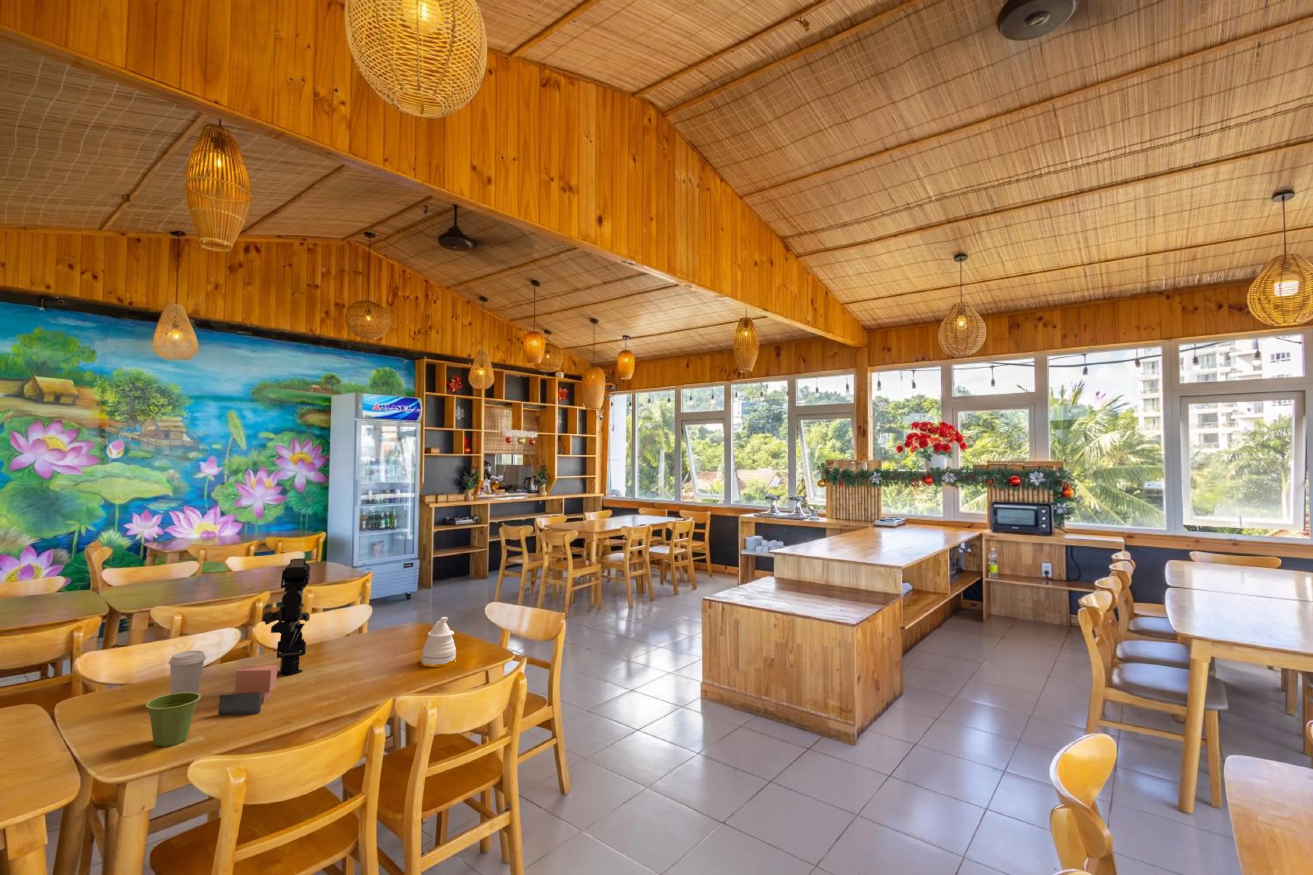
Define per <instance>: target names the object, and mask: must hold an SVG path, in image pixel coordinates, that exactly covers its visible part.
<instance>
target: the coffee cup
mask: <svg viewBox="0 0 1313 875" xmlns="http://www.w3.org/2000/svg"><path fill="white" fill-rule="evenodd" d="M206 659H207V656H206V655H205V652H204V651H203V650H187V651H185V650H184V651H181V652H178V653H174V654H172V656H171V658H170V659H169V661H168V664H169V665H170V666H169V667H170V670H169V671H170V694H173V693H181V692H194V693H198V694H199V689H200V683H201V679H202V673H203V668H204V663H205V661H206Z"/></svg>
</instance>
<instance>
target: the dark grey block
mask: <svg viewBox="0 0 1313 875" xmlns="http://www.w3.org/2000/svg"><path fill="white" fill-rule="evenodd" d="M261 699H262V692H252V693H235V692H228V693H225V692H224V693H221V694H220V695H219V701H218V712H217V715H218V716H235V715H236V716H237V715H240V716H241V715H242V716H243V715H259V714H260V713H261V710H262V703H261Z"/></svg>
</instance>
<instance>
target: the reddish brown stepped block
mask: <svg viewBox="0 0 1313 875" xmlns="http://www.w3.org/2000/svg"><path fill="white" fill-rule="evenodd" d="M277 671H278V664H273V665H271V664H269V665H265V664H264V665H244V666H242V667H240V668H239V669H237V670H236V675H235V687H234V693H252V692H262V699H261V704H262V703H265V702H267V700H268V699H269V698H271V692H272V690H274V689H275V688H276V687H277V677H278V674H277Z"/></svg>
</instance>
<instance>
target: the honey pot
mask: <svg viewBox="0 0 1313 875" xmlns="http://www.w3.org/2000/svg"><path fill="white" fill-rule="evenodd" d="M448 620H449V618H448V617H447V616H442V617H441V618H440V620H439V619H438V620H437V622H435V623H434V625H433V626H432V628H431V630H430V631H428V632H427V639H426V640H425V643H424V647H423V648H422V653H421V663H422V662H423V663H424V664H429V665H436V664H445V663H448V662H450V661H453V660H454V659H455V658H457V657H456V656H457V655H456V654H457V646H455V640H454V639H453V635H455V632H454V631H453V630H451V629H450V627H449V626H448V623H447V621H448ZM455 660H456V659H455Z"/></svg>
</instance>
